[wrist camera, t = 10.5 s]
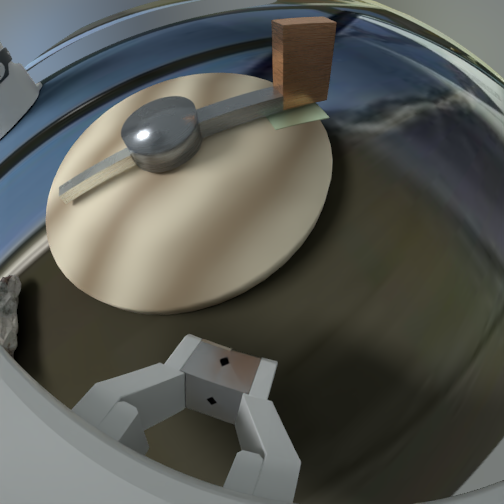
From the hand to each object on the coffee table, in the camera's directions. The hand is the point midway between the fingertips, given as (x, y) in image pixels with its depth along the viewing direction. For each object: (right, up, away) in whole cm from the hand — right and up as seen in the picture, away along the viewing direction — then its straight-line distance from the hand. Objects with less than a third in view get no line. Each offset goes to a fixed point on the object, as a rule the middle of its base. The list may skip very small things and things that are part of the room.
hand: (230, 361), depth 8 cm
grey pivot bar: (-3, +12, +9) cm, 15 cm away
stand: (-5, +10, +10) cm, 15 cm away
